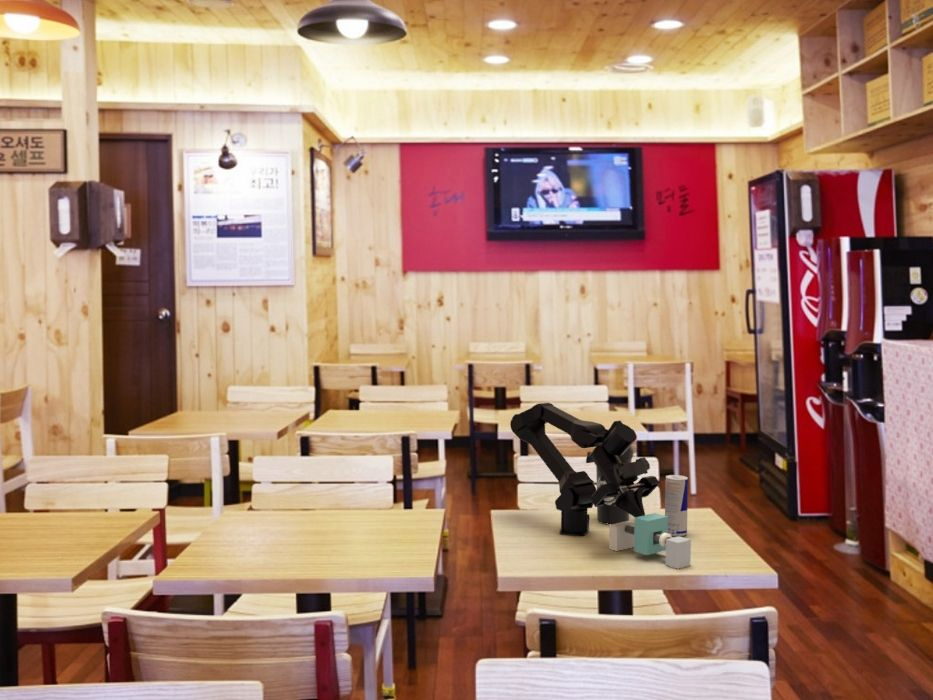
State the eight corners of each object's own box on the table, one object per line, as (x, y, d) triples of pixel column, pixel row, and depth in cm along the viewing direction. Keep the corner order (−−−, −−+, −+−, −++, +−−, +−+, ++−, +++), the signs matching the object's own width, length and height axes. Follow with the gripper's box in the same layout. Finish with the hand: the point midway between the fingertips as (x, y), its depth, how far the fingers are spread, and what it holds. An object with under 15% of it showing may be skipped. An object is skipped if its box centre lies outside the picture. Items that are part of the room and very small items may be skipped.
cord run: (609, 549, 217) (609, 522, 216) (629, 544, 221) (629, 517, 221) (673, 570, 201) (674, 541, 200) (694, 564, 205) (694, 536, 205)
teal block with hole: (634, 551, 210) (634, 517, 210) (654, 545, 215) (654, 513, 214) (647, 555, 207) (647, 521, 207) (667, 549, 211) (667, 516, 211)
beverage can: (687, 537, 227) (688, 479, 226) (664, 536, 228) (665, 478, 227) (686, 532, 232) (687, 474, 231) (664, 530, 233) (665, 474, 232)
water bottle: (587, 522, 242) (588, 437, 240) (604, 514, 250) (605, 432, 249) (622, 527, 236) (623, 441, 235) (638, 519, 245) (639, 436, 243)
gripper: (600, 451, 210) (635, 506, 202) (654, 443, 221) (689, 495, 213) (576, 479, 217) (609, 533, 208) (630, 469, 228) (663, 521, 220)
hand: (643, 520), depth 212 cm, fingers closed, pressing on teal block with hole
